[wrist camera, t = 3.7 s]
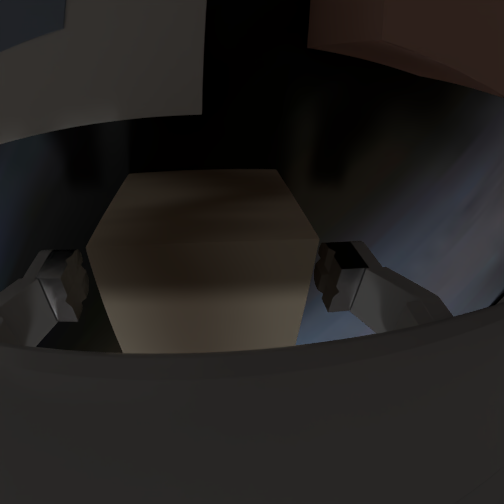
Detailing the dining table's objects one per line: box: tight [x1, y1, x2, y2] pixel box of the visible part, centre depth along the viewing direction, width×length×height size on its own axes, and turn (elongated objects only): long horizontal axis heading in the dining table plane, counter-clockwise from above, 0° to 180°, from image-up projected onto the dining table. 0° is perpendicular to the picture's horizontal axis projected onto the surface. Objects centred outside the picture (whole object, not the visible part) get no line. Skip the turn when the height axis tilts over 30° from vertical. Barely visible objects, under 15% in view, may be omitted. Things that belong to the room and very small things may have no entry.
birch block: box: [86, 169, 319, 353], centre depth 10 cm, size 6×6×5 cm
